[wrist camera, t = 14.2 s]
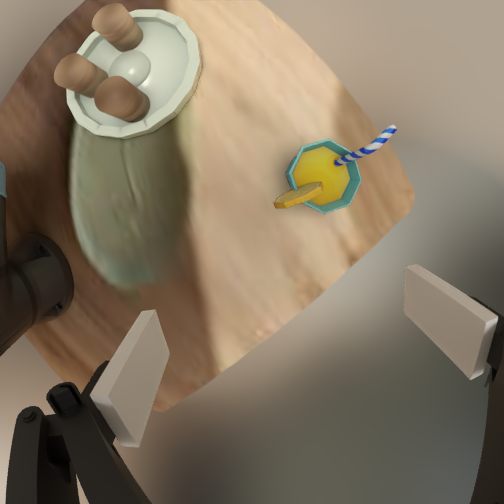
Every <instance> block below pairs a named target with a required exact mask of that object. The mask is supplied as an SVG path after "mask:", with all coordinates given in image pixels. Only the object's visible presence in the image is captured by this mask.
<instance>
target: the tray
mask: <svg viewBox="0 0 504 504" xmlns="http://www.w3.org/2000/svg"><path fill="white" fill-rule="evenodd" d="M129 14H130V15H131V16H132V18H133V19H134V20H135V22H136V23H137V24H138V26H139V27H140V28H141V30H142V31H143V39H142V42H141V43H140V44H139V45H138V46H137V47H136V48H135V49H133V50H129V51H126V52H120V51H118V50H117V49H116V48H115V47H113V46H112V45H111V44H110V43H109V42H108V41H107V40H106V39H105V38H103V37H102V36H101V35H100V34H99V33H98V32H97V31H94V32H93V33H92V34H91V35H90V36H89V37H88V38H87V40H86V41H85V42H84V43H83V45H82V46H81V47H80V49H79V50H78V52H77V53H78V54H80V55H81V56H83V57H84V58H86V59H87V60H89V61H90V62H92V63H94V64H95V65H97V66H98V67H100V68H101V69H102V70H104V71H105V72H107V74H108V76H109V77H111V76H121V77H123V78H125V79H126V80H128V81H129V82H130V83H132V84H133V85H134V86H136V87H137V88H138V89H139V90H141V91H142V92H143V93H145V94H146V95H147V96H148V98H149V100H150V109H149V112H148V114H147V115H146V117H145V118H143V119H142V120H141V121H139V122H136V123H129V122H126V121H123V120H121V119H118V118H116V117H113V116H111V115H108V114H106V113H103V112H101V111H99V110H98V109H97V107H96V105H95V102H94V98H88V97H86V96H83V95H81V94H78V93H76V92H74V91H71V90H69V89H67V104H68V106H69V108H70V110H71V111H72V113H73V115H74V117H75V119H76V121H77V123H79V124H80V125H82V126H83V127H85V128H86V129H88V130H89V131H91V132H92V133H94V134H95V135H99V136H105V137H113V138H121V139H130V138H133V137H137V136H140V135H144V134H148V133H151V132H154V131H155V130H157V129H158V128H160V127H161V126H162V125H164V124H165V123H167V122H168V121H170V120H171V119H173V118H174V117H176V116H177V115H178V114H179V112H180V111H181V110H182V108H183V107H184V106H185V104H186V103H187V102H188V100H189V99H190V98H191V97H192V95H193V94H194V93H195V90H196V86H197V83H198V80H199V76H200V73H201V70H202V61H201V54H200V47H199V42H198V39H197V37H196V35H195V34H194V33H193V31H192V30H191V29H190V27H189V26H188V25H187V24H186V22H185V21H184V20H183V19H182V18H180V17H177V16H175V15H173V14H171V13H168V12H166V11H163V10H135V11H132V12H129ZM176 114H177V115H176Z"/></svg>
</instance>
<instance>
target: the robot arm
mask: <svg viewBox="0 0 504 504" xmlns="http://www.w3.org/2000/svg"><path fill="white" fill-rule="evenodd" d="M6 199H7V194H6V170H5V167H4V165H3V163H2V162H1V161H0V356H1V355H2V354H3V353H4V352H5V351H6V350H7V349H8V348H9V347H10V346H11V345H12V344H13V343H15V341H17V340H18V339H19V338H20V337H21V336H22V335H23V334H24V333H25V332H26V331H27V330H28V329H29V328H30V327H32V326H33V325H36V324H40V323H44V322H48V321H52V320H54V319H56V318H58V317H59V316H60V315H61V314H62V313H63V312H65V311H66V310H67V308H68V307H69V305H70V303H71V300H72V296H73V279H72V274H71V270H70V267H69V265H68V262H67V260H66V258H65V256H64V255H63V253H62V251H61V250H60V249H59V248H58V246H57V245H56V244H55V243H54V242H53V241H52V240H50V239H49V238H47V237H46V236H44V235H41V234H37V233H31V234H27V235H24V236H22V237H19V238H18V239H16V240H15V241H14V242H13V243H12V244H11V245H10V246H9V247H8V248H7V241H6ZM403 312H404V313H405V314H406V315H407V316H408V317H409V318H410V319H411V320H412V321H413V322H414V323H415V324H416V325H417V326H418V327H419V328H420V329H421V330H422V331H423V332H424V333H425V334H426V335H427V336H428V337H429V338H430V339H431V340H432V341H433V342H434V343H435V344H436V345H437V346H438V347H439V348H440V349H441V350H442V351H443V352H444V353H445V354H446V355H447V356H448V357H449V358H450V359H451V360H452V361H453V362H454V363H455V364H456V365H457V366H458V367H459V368H460V369H461V370H462V372H463V373H465V375H466V376H467V377H468V378H469V379H470V380H471V379H473V378H475V377H477V376H479V375H481V374H483V372H484V368H485V365H486V362H488V363H489V364H490V365H491V368H490V372H489V374H488V377H487V380H486V383H485V386H484V387H486V386H487V384H488V383H489V391H488V407H487V418H486V419H487V420H486V428H485V435H484V442H483V448H482V454H481V460H480V465H479V470H478V474H477V479H476V483H475V487H474V491H473V494H472V498H471V502H470V504H504V317H503V316H502V315H501V314H499V313H498V312H496V311H495V310H493V309H492V308H490V307H488V306H487V305H485V304H483V303H482V302H481V301H480V300H478V299H477V298H474V297H471V296H468V295H466V294H464V293H462V292H461V291H459V290H458V289H456V288H455V287H453V286H452V285H450V284H448V283H447V282H445V281H443V280H442V279H440V278H439V277H437V276H436V275H434V274H432V273H431V272H429V271H427V270H426V269H424V268H422V267H420V266H419V265H417V264H415V265H410V266H406V267H405V293H404V311H403ZM169 356H170V352H169V349H168V347H167V344H166V341H165V338H164V335H163V332H162V329H161V326H160V322H159V319H158V316H157V313H156V310H146V311H142V312H141V313H140V315H139V316H138V318H137V319H136V321H135V322H134V324H133V326H132V327H131V329H130V330H129V332H128V333H127V335H126V336H125V338H124V340H123V341H122V343H121V344H120V346H119V348H118V349H117V351H116V352H115V354H114V356H113V357H112V359H111V360H110V361H105V362H104V363H102V364H101V365H100V366H99V367H98V368H97V370H96V371H95V373H94V374H93V375H94V376H92V377H91V379H90V382H88V384H87V385H86V387H85V389H84V390H83V392H82V393H81V394H80V392H79V390H78V389H77V387H76V385H75V384H74V383H71V382H64V383H60V384H58V385H56V386H54V387H53V388H52V389H51V390H49V392H48V394H47V396H46V399H47V401H48V403H49V404H50V406H51V407H52V409H53V410H54V412H55V413H56V414H52V415H44V413H43V412H42V410H41V409H40V408H39V407H36V406H30V407H28V408H25V409H23V410H22V411H21V413H19V415H18V417H17V419H16V424H15V429H14V434H13V440H12V446H11V452H10V460H9V468H8V476H7V488H6V504H80V502H79V496H78V488H77V479H76V474H77V477H78V479H79V482H80V484H81V486H82V488H83V491H84V493H85V496H86V498H87V500H88V502H89V504H152V503H151V501H150V500H149V499H148V498H147V496H146V495H145V493H144V492H143V490H142V489H141V487H140V486H139V485H138V483H137V482H136V480H135V479H134V477H133V476H132V474H131V472H130V471H129V469H128V468H127V466H126V464H125V463H124V461H123V460H122V458H121V456H120V455H119V453H118V451H117V449H116V448H115V447H114V445H113V441H114V439H115V437H116V438H117V440H118V441H119V442H120V444H121V445H122V446H130V447H139V446H140V442H141V439H142V436H143V433H144V430H145V427H146V423H147V420H148V417H149V414H150V411H151V408H152V405H153V402H154V399H155V396H156V393H157V390H158V387H159V384H160V381H161V379H162V376H163V373H164V370H165V367H166V364H167V361H168V358H169Z"/></svg>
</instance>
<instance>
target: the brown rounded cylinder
mask: <svg viewBox="0 0 504 504" xmlns="http://www.w3.org/2000/svg"><path fill="white" fill-rule="evenodd" d="M107 78H109V76H108V74H107V72H105V71H104V70H102V69H101V68H100V67H98V66H97V65H95V64H94V63H92V62H90V61H89V60H87V59H86V58H84V57H83V56H81V55H80V54H78V53H72V54H69V55H67V56H66V57H64V58H63V59H62V60H61V61H60V62H59V64H58V65H57V67H56V69H55V73H54V80H55V82H56V84H57V85H59V86H61V87H64V88H66V89H69V90H71V91H74V92H76V93H78V94H81V95H83V96H86V97H88V98H94V96H95V92H96V90H97V88H98V86H99V85H100V84H101V83H102V82H103V81H104V80H105V79H107Z"/></svg>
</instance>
